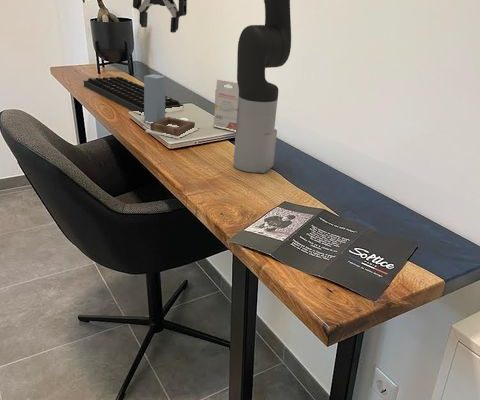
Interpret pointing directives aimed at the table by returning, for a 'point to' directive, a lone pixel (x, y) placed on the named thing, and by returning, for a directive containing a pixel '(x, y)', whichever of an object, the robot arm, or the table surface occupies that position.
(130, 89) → the computer keyboard
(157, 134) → the mat
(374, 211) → the table surface
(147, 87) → the grey rectangular bar
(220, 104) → the ink cartridge box
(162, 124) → the brown square frame
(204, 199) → the table surface
